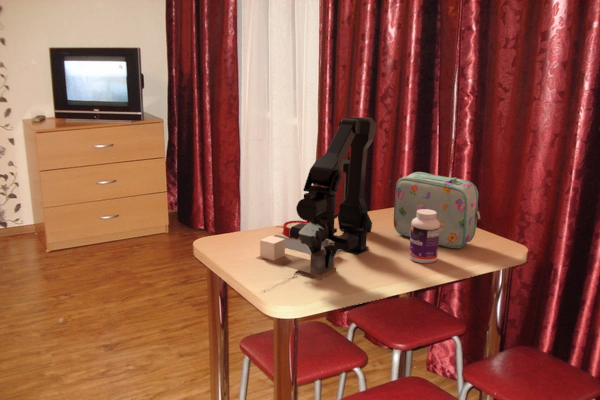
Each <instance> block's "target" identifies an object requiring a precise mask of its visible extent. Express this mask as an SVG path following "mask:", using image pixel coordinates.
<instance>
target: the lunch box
mask: <svg viewBox="0 0 600 400" xmlns="http://www.w3.org/2000/svg"><path fill="white" fill-rule="evenodd" d="M478 204H479V191H478V188H477V186H476V184H474V183H473V182H471V181H469V180H467V179H463V178H457V177H450V176H449V177H447V176H443V175H436V174H431V173H427V172H423V171H416V172H412V173H410V174H409V175H406V176H404V177H401V178H399V179H398V180H397V181H396V185H395V195H394V205H393V206H394V207H393V208H394V209H393V227H394V229H395V231H396V232H397V233H398V234H399V235H401V236H406V237H409V238H410V236H411V223H412V220H413V219H414V218H416V217H417V210H420V209H429V210H434V211H436V212H437V215H436V218H435V219H437V220H438V221H439V223H440V231H439V243H438V246H441V247H445V248H451V249H461V248H462V247H464V246H465V245H466V244H467V243H470V242H471V241H472V240H473V238H474V237H475V234H476V230H477V223H478V220H481V215H480V211H479V207H478Z"/></svg>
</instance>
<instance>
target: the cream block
mask: <svg viewBox="0 0 600 400" xmlns="http://www.w3.org/2000/svg"><path fill="white" fill-rule="evenodd" d="M285 254H286V248H285V239H283V238H279V237H275V236H274V235H269V236H267V237H265V238H262V239H259V256H260V257H263V258H266V259H270V260H276V259H279V258H281V257H283V256H285Z"/></svg>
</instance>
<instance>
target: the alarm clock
mask: <svg viewBox="0 0 600 400" xmlns="http://www.w3.org/2000/svg"><path fill="white" fill-rule="evenodd" d="M300 223H304V224H308V223H309V221H305V220H290V221H286V222H284V223H283V226H278V225H276V228H282V229H283V230H282V233H281V234H282V236H284V237H288V238H291V237H289V230H290V228H291V227H292V226H295V225H297V224H300Z"/></svg>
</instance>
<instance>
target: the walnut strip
mask: <svg viewBox="0 0 600 400" xmlns="http://www.w3.org/2000/svg"><path fill="white" fill-rule="evenodd" d="M255 259H257V260H261V261H265V262H268V263H271V264H276V265H280V266H283V267H286V268H290V269H292V270H293V269H294V270H295V271H294V273H296V274H300V275H302V276H306V277H311V278H313V279H317V280H322V279H323V278H325V277H327V276H329V275H330V274H333V273H334V272H337V266H335V258H334V259H333V261H332V263H331V265H330V267H329V268H326V250H325V248H324V249H321V250H319V251H317V252H315V253H313V254H310V259H307V258H304V257H300V256H295V255H292V254H289V253H285V256H283V257H281V258H279V259H276V260H270V259H266V258H263V257H260V255H259V256H256V257H255Z"/></svg>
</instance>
